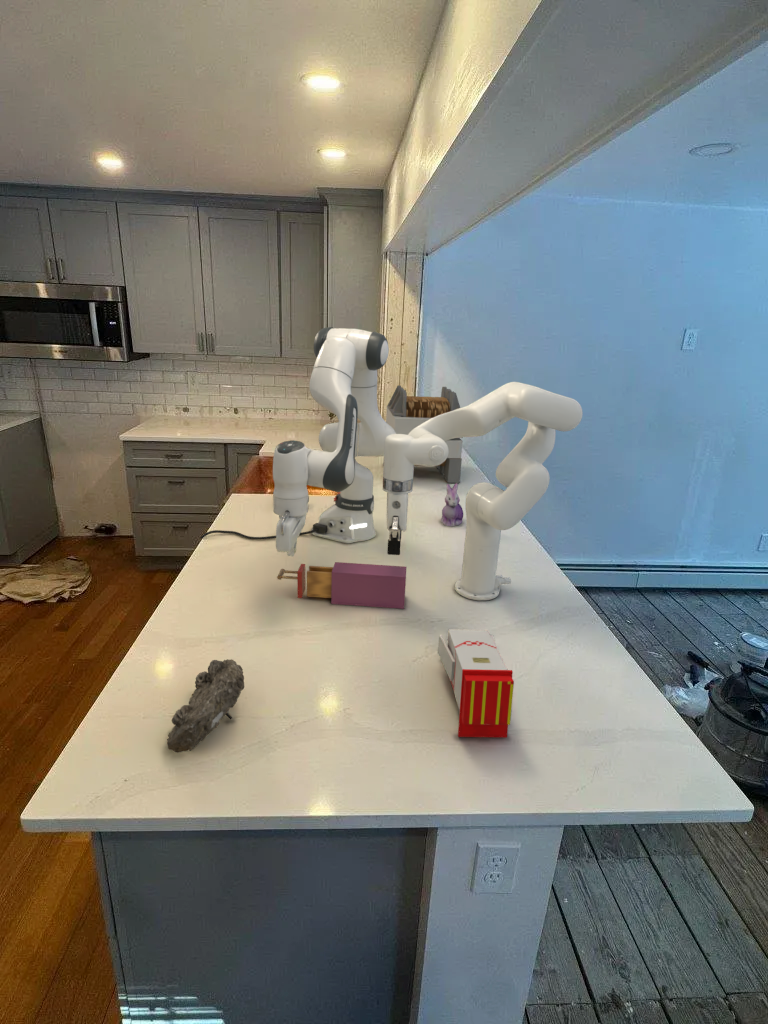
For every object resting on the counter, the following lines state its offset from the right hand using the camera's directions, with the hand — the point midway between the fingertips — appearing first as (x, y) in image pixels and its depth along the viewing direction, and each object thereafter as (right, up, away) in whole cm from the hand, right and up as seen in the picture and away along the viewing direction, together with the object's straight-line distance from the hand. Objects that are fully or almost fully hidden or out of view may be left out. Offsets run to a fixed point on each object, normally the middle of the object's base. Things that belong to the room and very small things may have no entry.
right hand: (394, 546), depth 148 cm
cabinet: (-7, -15, +6) cm, 17 cm away
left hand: (-27, -2, +2) cm, 27 cm away
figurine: (+23, +5, +65) cm, 69 cm away
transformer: (+15, +28, +127) cm, 131 cm away
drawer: (-19, -13, +6) cm, 24 cm away
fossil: (-35, -30, -40) cm, 61 cm away
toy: (+15, -29, -29) cm, 44 cm away
